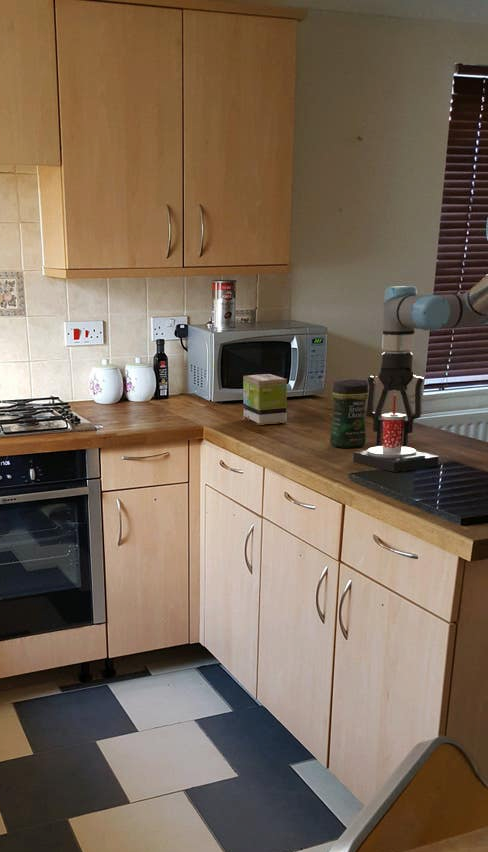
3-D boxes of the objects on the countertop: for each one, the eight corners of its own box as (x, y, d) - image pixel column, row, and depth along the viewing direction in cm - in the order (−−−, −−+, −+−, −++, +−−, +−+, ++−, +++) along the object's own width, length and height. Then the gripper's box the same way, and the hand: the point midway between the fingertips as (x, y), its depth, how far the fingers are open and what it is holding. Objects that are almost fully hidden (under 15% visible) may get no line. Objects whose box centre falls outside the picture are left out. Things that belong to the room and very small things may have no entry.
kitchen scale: (438, 466, 219) (439, 453, 218) (393, 472, 214) (394, 459, 213) (395, 455, 233) (396, 443, 232) (353, 461, 227) (353, 449, 226)
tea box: (242, 419, 296) (242, 375, 291) (270, 417, 299) (270, 373, 294) (258, 426, 282) (258, 379, 278) (287, 424, 285) (288, 377, 280)
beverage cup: (384, 447, 228) (387, 392, 223) (407, 449, 224) (411, 393, 220) (375, 451, 223) (378, 395, 218) (399, 453, 219) (402, 396, 215)
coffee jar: (339, 449, 243) (341, 381, 237) (326, 444, 250) (328, 378, 244) (370, 446, 245) (373, 379, 239) (356, 442, 252) (359, 376, 246)
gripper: (439, 350, 215) (432, 444, 223) (362, 350, 222) (358, 440, 230) (434, 353, 208) (428, 449, 216) (355, 353, 216) (351, 445, 224)
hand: (392, 444), depth 223 cm, fingers closed on beverage cup, 6 cm apart
